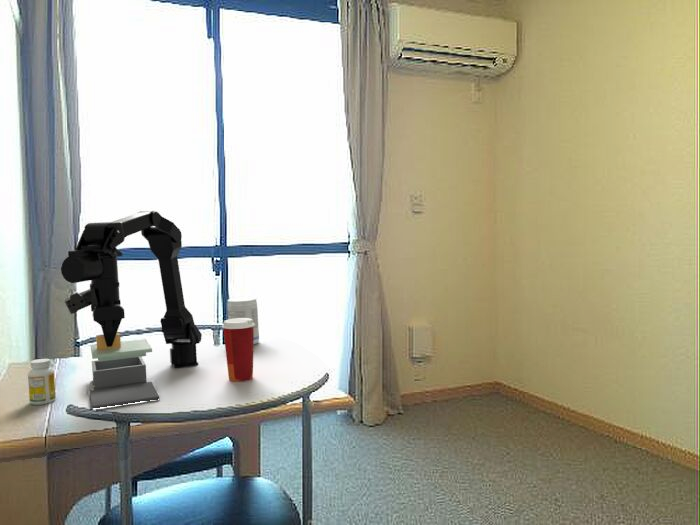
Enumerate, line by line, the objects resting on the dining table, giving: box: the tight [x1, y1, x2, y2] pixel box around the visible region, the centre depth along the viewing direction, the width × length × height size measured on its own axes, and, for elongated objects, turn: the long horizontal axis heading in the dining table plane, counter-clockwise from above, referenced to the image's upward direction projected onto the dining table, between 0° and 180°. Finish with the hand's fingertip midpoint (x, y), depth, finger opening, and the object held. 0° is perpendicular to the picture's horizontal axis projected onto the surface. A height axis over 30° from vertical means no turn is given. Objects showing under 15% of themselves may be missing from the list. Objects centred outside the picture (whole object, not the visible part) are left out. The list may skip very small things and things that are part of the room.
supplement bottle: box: [27, 358, 57, 406], centre depth 136 cm, size 5×5×10 cm
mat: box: [89, 381, 160, 409], centre depth 138 cm, size 14×14×1 cm
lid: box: [90, 332, 153, 362], centre depth 137 cm, size 12×12×5 cm
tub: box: [91, 356, 148, 390], centre depth 151 cm, size 12×12×5 cm
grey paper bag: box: [226, 296, 260, 346], centre depth 193 cm, size 10×10×15 cm
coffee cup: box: [221, 318, 255, 383], centre depth 151 cm, size 8×8×15 cm
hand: (109, 345), depth 136 cm, fingers closed on lid
